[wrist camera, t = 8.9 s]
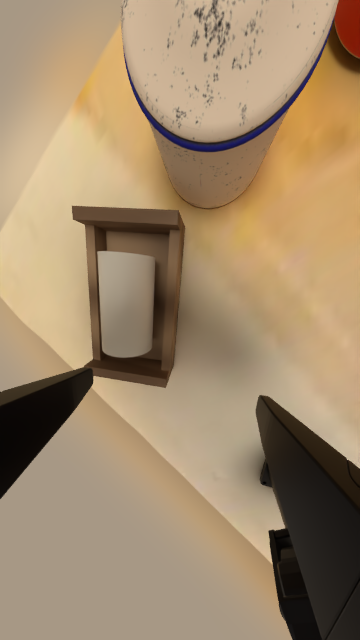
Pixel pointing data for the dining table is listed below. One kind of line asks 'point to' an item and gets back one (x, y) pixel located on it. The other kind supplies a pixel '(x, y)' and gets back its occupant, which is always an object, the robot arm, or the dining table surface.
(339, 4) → the soda can
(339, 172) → the dining table surface
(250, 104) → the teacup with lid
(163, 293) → the wooden tray
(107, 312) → the roll
